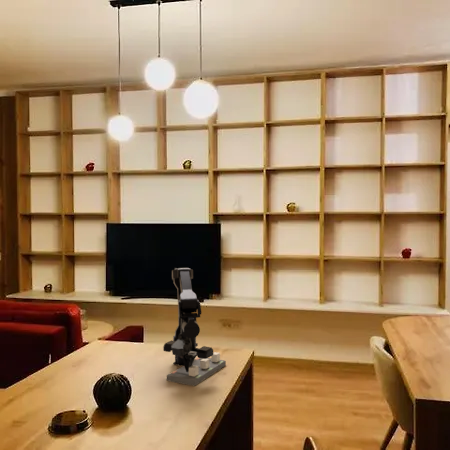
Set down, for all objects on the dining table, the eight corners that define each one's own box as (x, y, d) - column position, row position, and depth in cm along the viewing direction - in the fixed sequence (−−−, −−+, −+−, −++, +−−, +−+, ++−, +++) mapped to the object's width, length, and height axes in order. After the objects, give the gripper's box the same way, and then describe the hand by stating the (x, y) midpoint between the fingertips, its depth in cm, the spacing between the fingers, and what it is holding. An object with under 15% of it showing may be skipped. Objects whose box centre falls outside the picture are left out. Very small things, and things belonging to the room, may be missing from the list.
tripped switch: (188, 375, 181) (188, 367, 181) (192, 373, 184) (192, 365, 184) (194, 376, 180) (194, 368, 180) (198, 373, 183) (198, 366, 182)
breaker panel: (166, 380, 182) (166, 375, 182) (200, 361, 205) (199, 356, 205) (194, 385, 177) (194, 380, 177) (225, 365, 199) (225, 360, 199)
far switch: (211, 361, 197) (211, 354, 197) (214, 359, 200) (214, 352, 200) (216, 362, 196) (216, 354, 196) (220, 360, 199) (220, 352, 199)
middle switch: (200, 368, 189) (200, 360, 189) (204, 365, 192) (204, 358, 192) (205, 369, 188) (205, 361, 188) (209, 366, 191) (209, 359, 191)
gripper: (155, 332, 179) (154, 374, 180) (199, 339, 171) (198, 383, 171) (171, 325, 189) (171, 365, 190) (214, 332, 181) (213, 374, 181)
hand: (187, 372), depth 183 cm, fingers closed
